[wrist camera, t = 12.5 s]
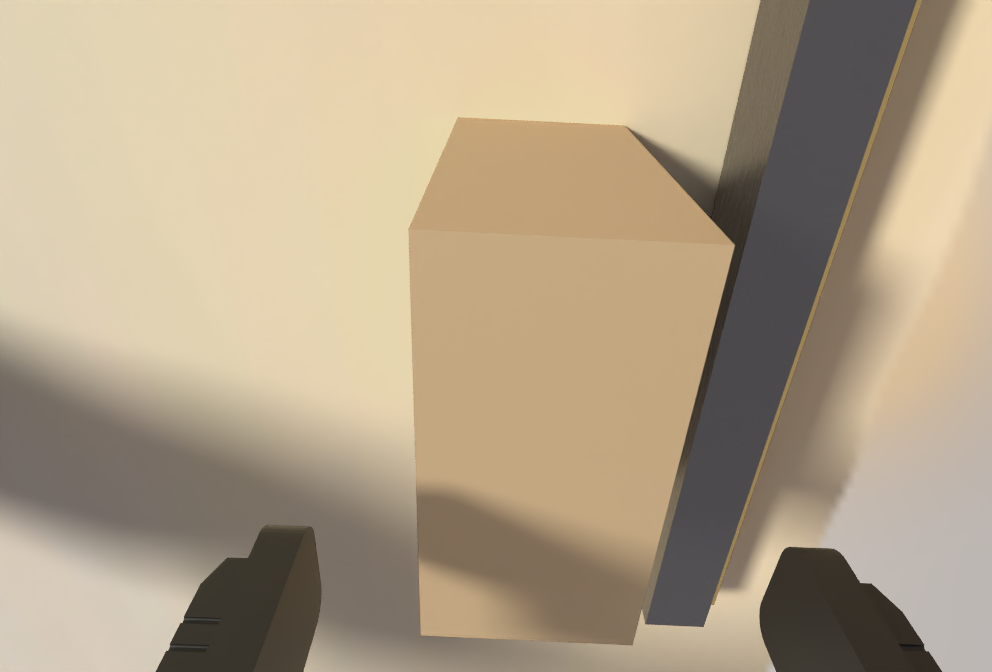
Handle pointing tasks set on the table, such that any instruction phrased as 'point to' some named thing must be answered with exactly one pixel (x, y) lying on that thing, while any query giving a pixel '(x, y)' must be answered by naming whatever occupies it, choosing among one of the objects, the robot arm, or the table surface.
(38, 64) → the table surface
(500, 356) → the carton
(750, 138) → the rail
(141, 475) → the table surface
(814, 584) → the robot arm
